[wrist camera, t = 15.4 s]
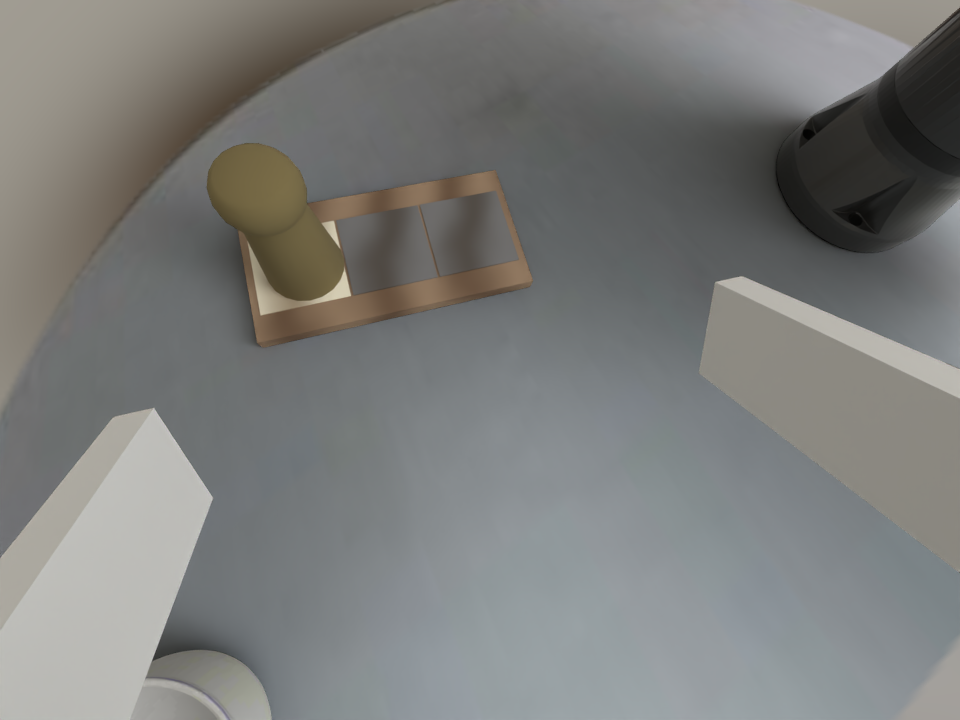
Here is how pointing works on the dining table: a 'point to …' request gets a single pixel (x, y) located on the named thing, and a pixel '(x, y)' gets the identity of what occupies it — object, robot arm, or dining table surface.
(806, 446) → the robot arm
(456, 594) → the dining table surface
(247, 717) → the teacup
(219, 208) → the cork
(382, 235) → the brown frame
